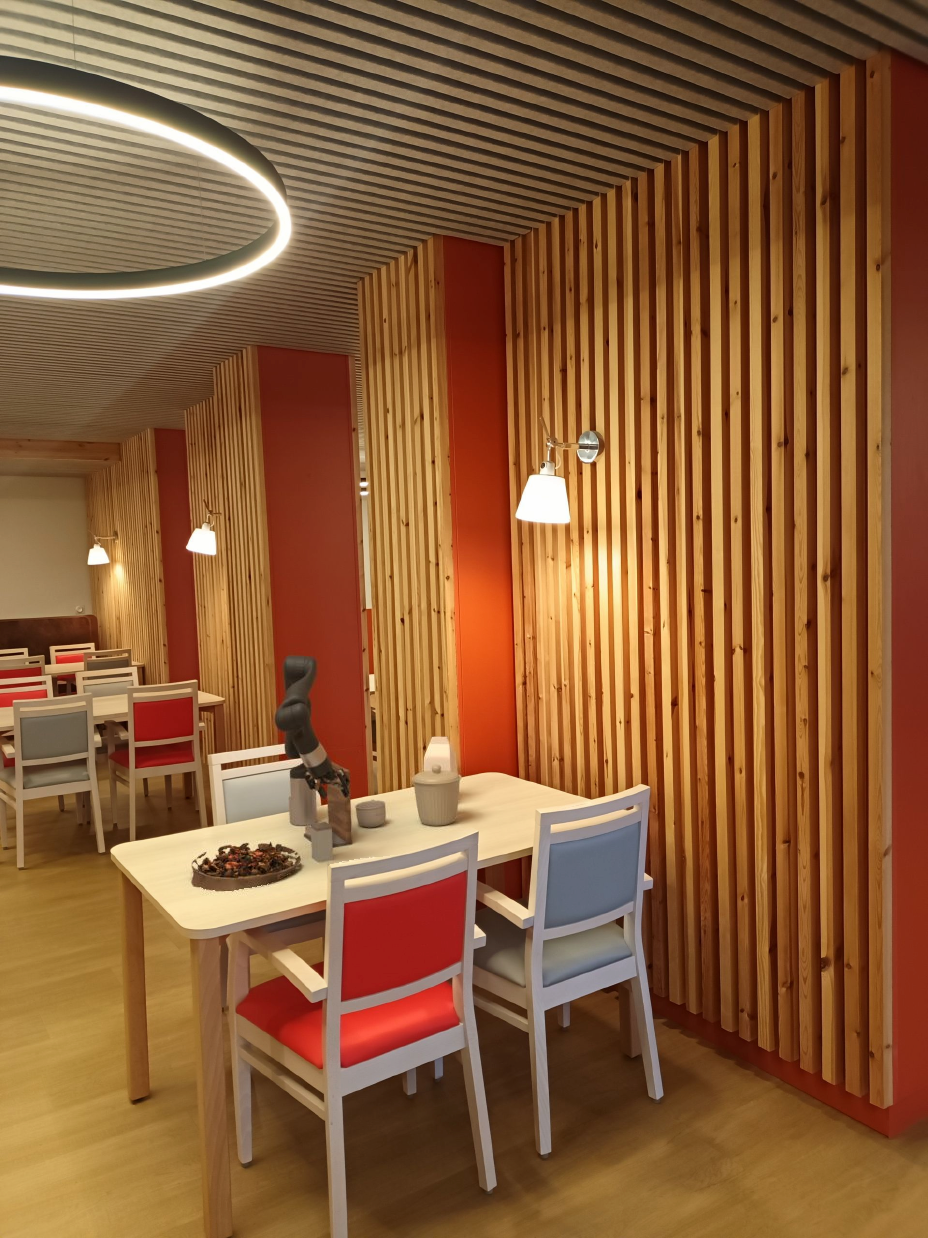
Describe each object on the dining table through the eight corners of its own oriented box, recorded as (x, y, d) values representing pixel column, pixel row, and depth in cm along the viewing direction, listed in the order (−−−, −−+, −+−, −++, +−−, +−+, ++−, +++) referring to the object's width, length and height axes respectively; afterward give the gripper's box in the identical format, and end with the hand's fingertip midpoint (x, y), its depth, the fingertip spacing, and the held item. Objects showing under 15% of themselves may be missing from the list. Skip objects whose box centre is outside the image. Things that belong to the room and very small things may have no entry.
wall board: (320, 849, 301) (318, 775, 300) (304, 836, 317) (301, 765, 316) (352, 844, 306) (349, 770, 305) (334, 831, 322) (331, 761, 321)
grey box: (317, 862, 288) (316, 828, 287) (311, 857, 293) (310, 824, 292) (332, 860, 290) (331, 826, 289) (326, 855, 295) (325, 821, 295)
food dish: (245, 852, 305) (245, 829, 304) (323, 868, 288) (322, 843, 288) (162, 881, 274) (162, 856, 274) (243, 901, 258) (243, 873, 257)
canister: (470, 825, 325) (468, 767, 323) (421, 831, 318) (419, 772, 317) (453, 813, 342) (451, 757, 340) (407, 819, 335) (405, 762, 334)
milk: (423, 805, 354) (420, 739, 353) (430, 798, 365) (428, 734, 364) (453, 806, 351) (450, 740, 350) (459, 799, 362) (457, 734, 361)
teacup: (381, 830, 322) (380, 807, 322) (352, 829, 324) (351, 807, 324) (392, 819, 336) (391, 798, 335) (364, 818, 338) (363, 797, 338)
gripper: (339, 748, 283) (359, 787, 290) (301, 751, 289) (322, 789, 296) (329, 765, 277) (350, 804, 284) (291, 768, 283) (312, 805, 290)
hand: (336, 796), depth 290 cm, fingers open, 8 cm apart
